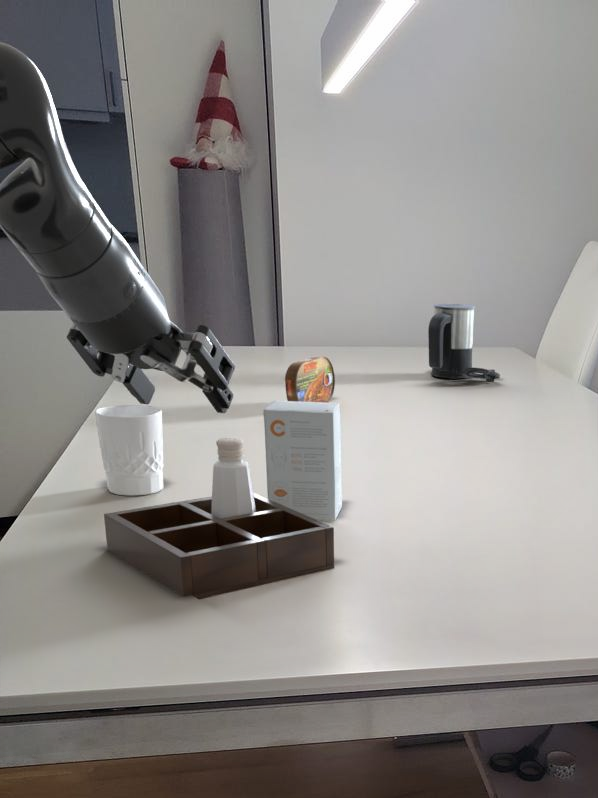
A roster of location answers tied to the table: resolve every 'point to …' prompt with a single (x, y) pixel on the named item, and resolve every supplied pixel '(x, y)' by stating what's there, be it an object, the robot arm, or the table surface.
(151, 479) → the white cup
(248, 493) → the salt shaker
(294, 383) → the tin
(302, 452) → the small box
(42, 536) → the table surface
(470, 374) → the milk frother
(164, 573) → the divided wooden tray
